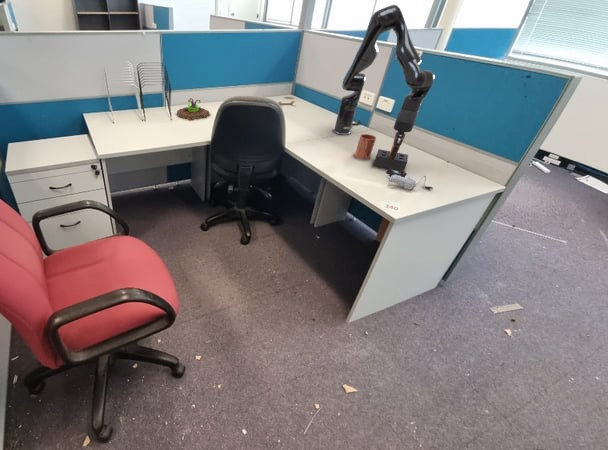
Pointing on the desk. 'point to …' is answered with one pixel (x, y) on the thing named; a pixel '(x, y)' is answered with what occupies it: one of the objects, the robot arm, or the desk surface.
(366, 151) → the pen cup
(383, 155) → the holder
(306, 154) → the desk surface
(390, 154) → the orange cylinder rod
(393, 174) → the clip-on lamp
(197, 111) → the plant
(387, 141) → the desk surface
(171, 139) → the desk surface
